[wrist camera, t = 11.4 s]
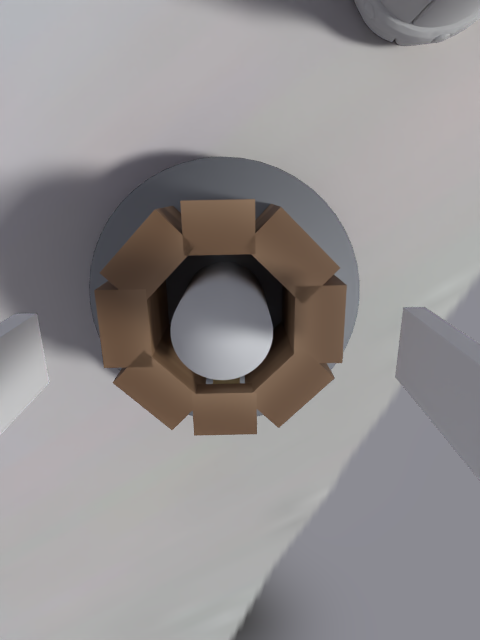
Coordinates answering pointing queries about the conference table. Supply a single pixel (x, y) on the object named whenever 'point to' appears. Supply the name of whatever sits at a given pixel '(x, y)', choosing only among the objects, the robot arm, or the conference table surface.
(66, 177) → the conference table surface
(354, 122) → the conference table surface
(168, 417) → the collar
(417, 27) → the mug
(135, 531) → the conference table surface
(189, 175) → the flange base
